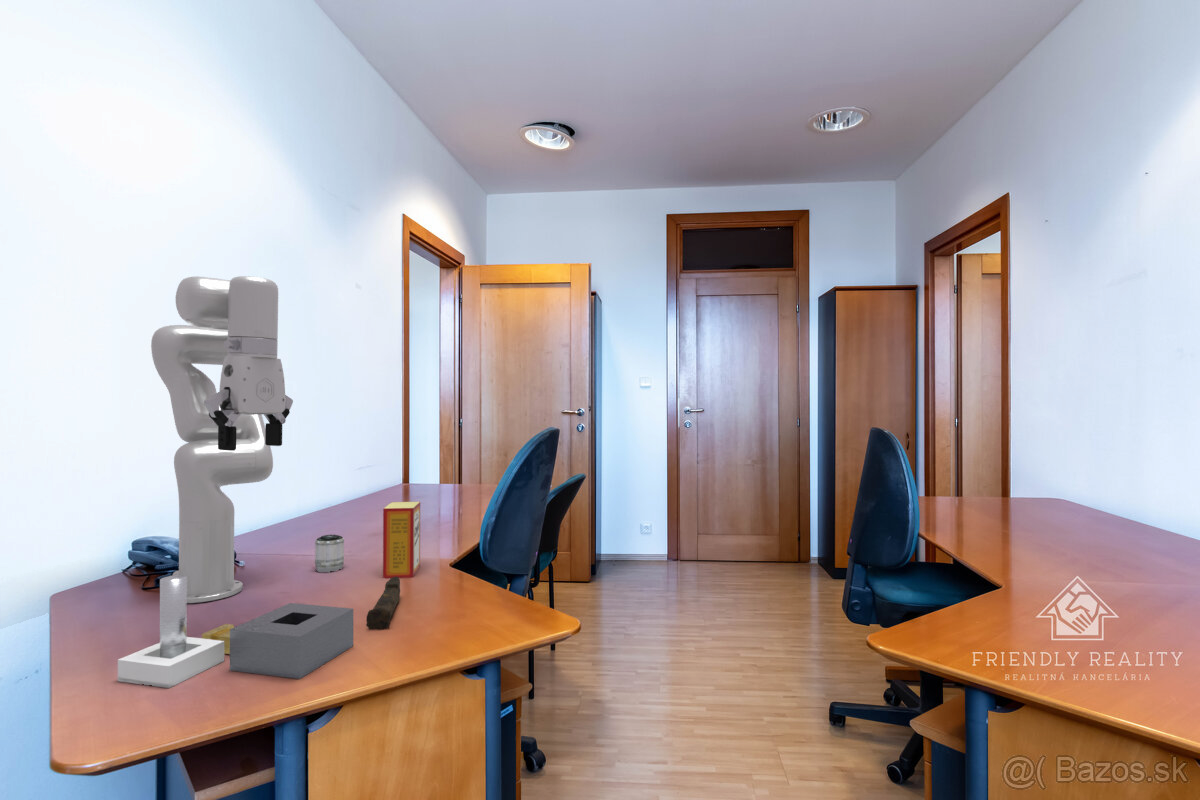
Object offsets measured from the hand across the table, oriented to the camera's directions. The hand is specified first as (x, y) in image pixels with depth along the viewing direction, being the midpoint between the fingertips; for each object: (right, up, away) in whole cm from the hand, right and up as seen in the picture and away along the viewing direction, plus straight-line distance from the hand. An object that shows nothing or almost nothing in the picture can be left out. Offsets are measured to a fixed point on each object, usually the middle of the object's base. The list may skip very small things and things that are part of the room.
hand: (251, 447), depth 104 cm
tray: (-2, -31, -16) cm, 35 cm away
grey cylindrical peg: (-2, -31, -16) cm, 35 cm away
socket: (+14, -31, -12) cm, 36 cm away
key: (+5, -31, -10) cm, 33 cm away
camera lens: (-3, -32, +37) cm, 49 cm away
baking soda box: (+15, -32, +35) cm, 50 cm away
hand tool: (+20, -32, +9) cm, 39 cm away
